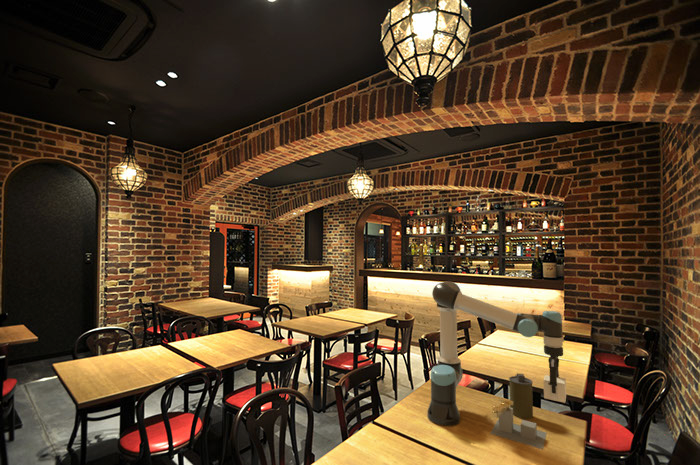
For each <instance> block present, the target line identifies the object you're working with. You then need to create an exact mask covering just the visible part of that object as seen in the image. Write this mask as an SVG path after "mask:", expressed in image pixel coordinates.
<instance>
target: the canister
mask: <svg viewBox="0 0 700 465" xmlns="http://www.w3.org/2000/svg"><path fill="white" fill-rule="evenodd" d="M508 380H509V400H510V401H513V405H511V404H510V408H513V417H515V418H518V419H522V420H531V419H533V418H534V406H533V403H534V402H533V381H532V379H530V378H527V377H526V376H525V374H524V373H516V375H515V376H514V375H513V376H509V378H508Z"/></svg>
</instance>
